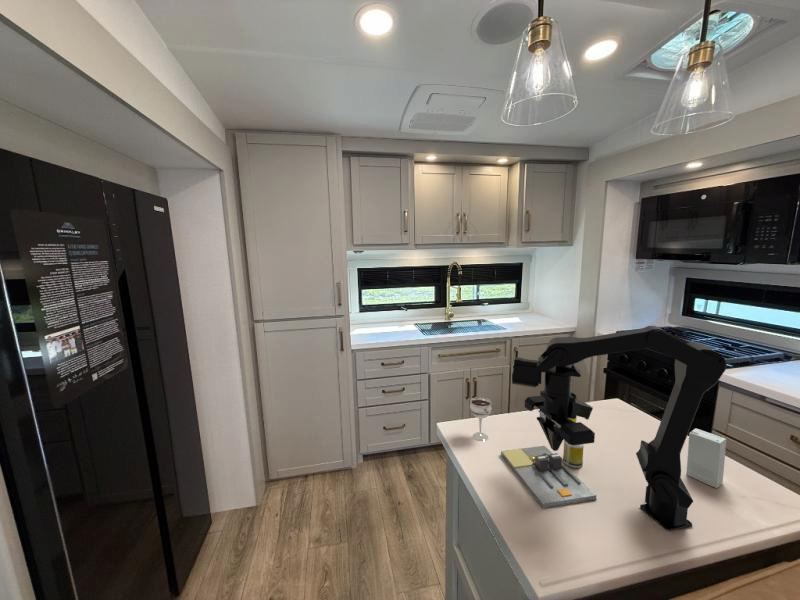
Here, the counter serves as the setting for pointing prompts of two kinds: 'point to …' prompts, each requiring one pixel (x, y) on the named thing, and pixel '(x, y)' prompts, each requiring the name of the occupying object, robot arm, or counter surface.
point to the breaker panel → (551, 481)
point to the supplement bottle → (573, 455)
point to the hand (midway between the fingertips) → (554, 449)
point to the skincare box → (706, 457)
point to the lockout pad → (517, 458)
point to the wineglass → (480, 414)
